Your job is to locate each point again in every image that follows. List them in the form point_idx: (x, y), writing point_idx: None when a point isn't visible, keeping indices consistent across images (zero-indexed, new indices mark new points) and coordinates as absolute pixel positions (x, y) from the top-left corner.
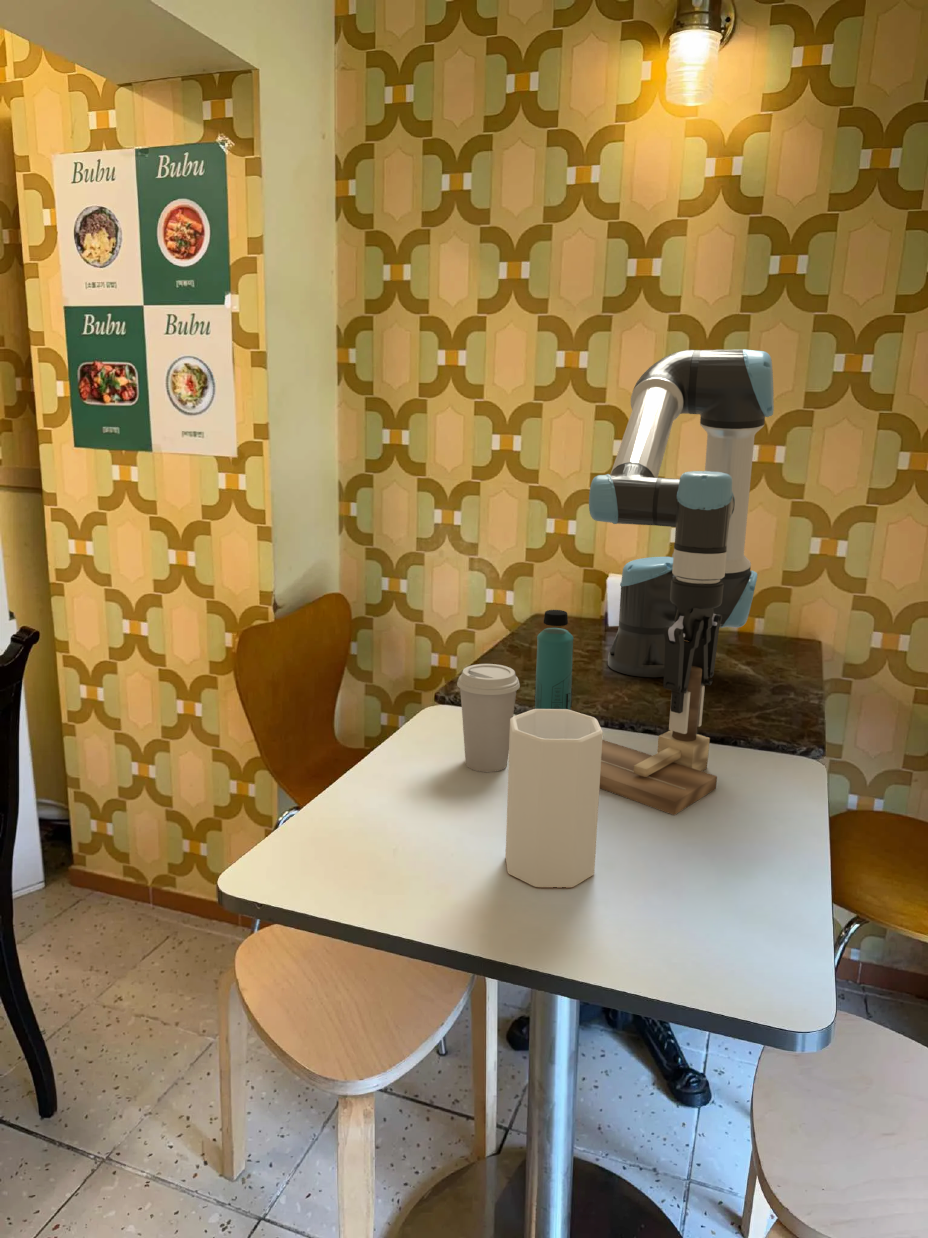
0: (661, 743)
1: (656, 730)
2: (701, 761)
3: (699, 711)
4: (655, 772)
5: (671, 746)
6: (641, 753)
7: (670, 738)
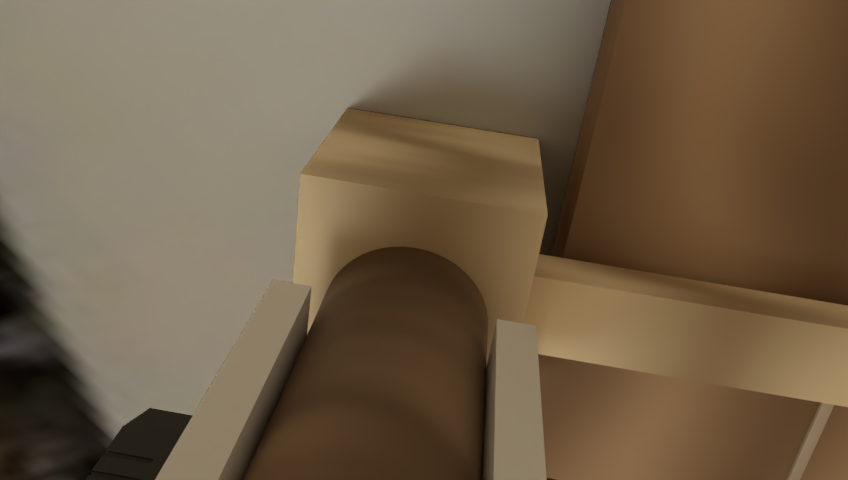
0: None
1: (63, 465)
2: (417, 141)
3: (277, 365)
4: None
5: None
6: None
7: None
